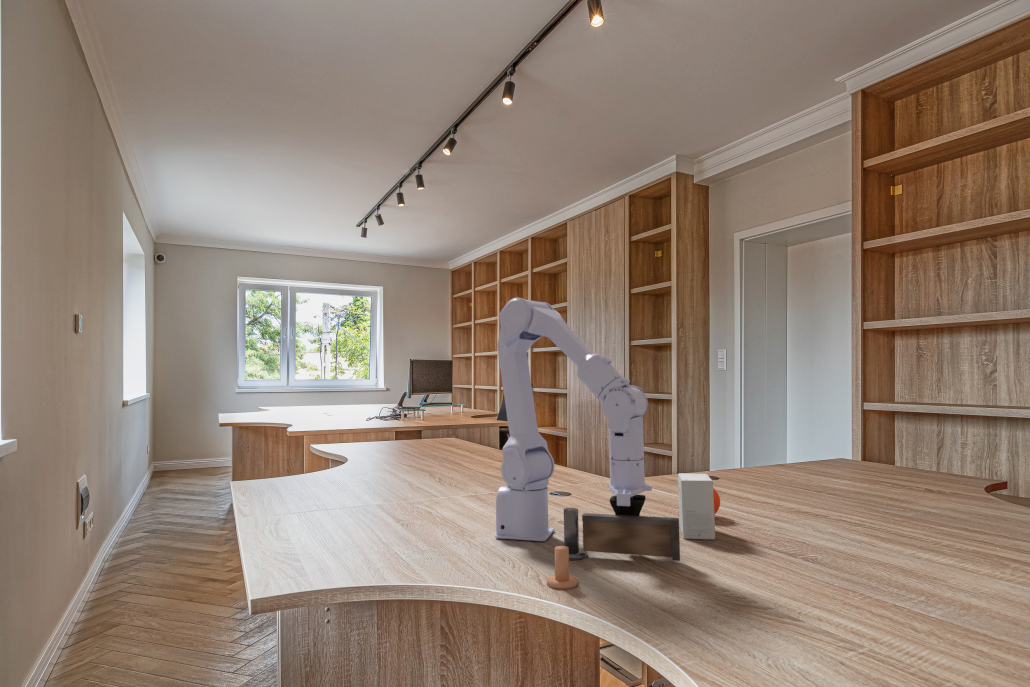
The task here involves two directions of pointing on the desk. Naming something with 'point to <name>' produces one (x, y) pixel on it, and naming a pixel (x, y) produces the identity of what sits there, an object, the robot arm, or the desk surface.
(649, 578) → the desk surface
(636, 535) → the gate leaf
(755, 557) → the desk surface
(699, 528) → the small box
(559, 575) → the post
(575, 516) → the gate post
